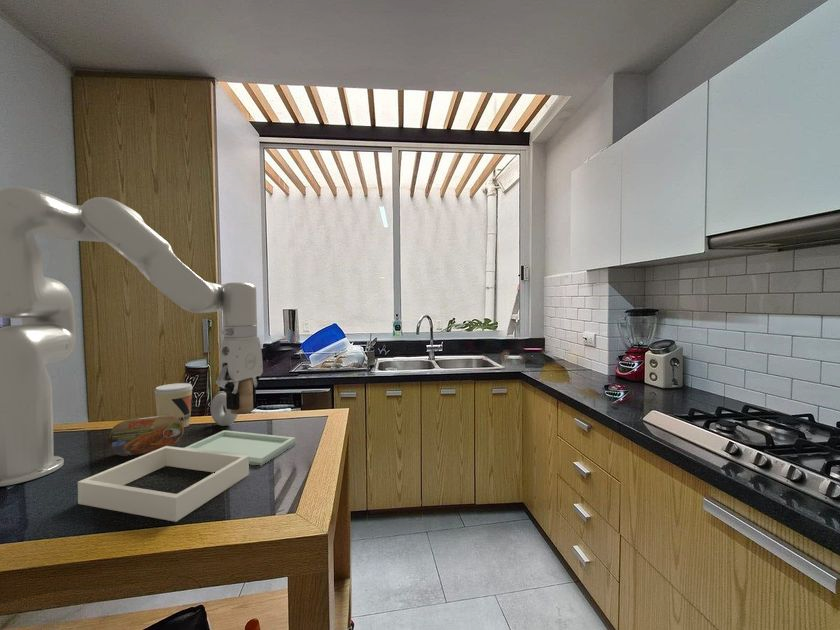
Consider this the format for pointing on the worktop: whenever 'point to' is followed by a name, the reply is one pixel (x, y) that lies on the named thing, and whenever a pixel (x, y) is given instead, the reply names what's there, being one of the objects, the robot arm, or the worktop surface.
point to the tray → (246, 445)
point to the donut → (221, 411)
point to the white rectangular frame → (156, 504)
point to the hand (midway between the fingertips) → (241, 405)
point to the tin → (144, 435)
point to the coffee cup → (174, 401)
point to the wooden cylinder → (244, 396)
